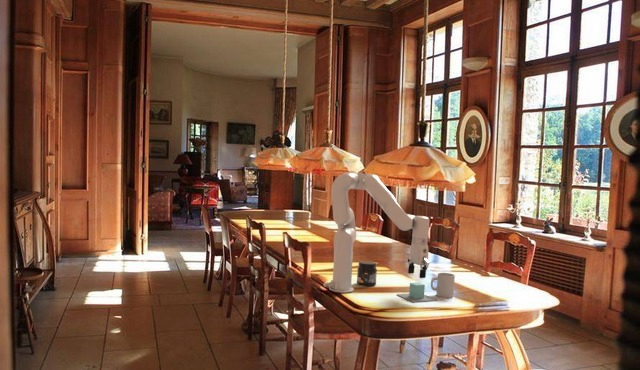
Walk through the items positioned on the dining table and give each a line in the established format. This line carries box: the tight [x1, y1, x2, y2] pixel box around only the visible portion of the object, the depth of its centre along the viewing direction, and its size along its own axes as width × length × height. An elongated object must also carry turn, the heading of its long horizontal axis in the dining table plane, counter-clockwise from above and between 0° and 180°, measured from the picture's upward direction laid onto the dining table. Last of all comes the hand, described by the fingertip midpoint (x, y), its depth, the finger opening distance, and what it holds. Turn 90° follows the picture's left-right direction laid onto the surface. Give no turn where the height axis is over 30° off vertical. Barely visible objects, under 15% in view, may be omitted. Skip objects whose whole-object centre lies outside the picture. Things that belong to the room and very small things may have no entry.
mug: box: [430, 272, 456, 299], centre depth 272 cm, size 12×8×11 cm
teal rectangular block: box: [408, 281, 426, 299], centre depth 264 cm, size 5×5×7 cm
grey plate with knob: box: [396, 293, 438, 304], centre depth 264 cm, size 14×14×6 cm
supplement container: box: [356, 260, 378, 288], centre depth 288 cm, size 10×10×12 cm
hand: (416, 275), depth 264 cm, fingers open, 9 cm apart
